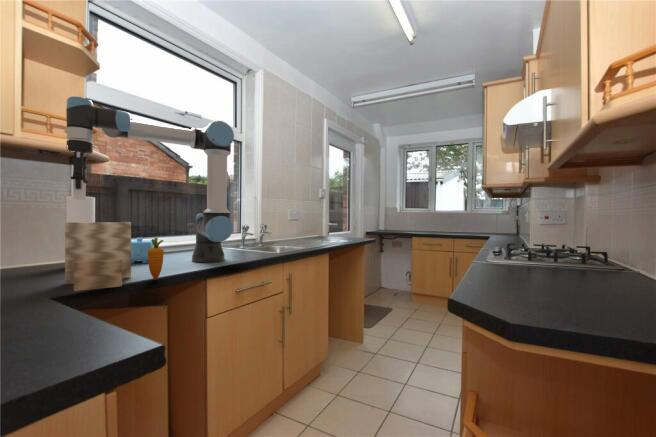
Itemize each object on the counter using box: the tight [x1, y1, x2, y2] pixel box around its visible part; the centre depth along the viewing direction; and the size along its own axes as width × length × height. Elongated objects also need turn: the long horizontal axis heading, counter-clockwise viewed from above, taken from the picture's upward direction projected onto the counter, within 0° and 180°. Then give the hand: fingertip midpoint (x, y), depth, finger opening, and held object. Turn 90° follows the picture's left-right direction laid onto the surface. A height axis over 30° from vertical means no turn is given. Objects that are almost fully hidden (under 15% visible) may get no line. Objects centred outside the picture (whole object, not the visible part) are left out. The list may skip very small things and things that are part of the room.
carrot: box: [147, 237, 165, 281], centre depth 109 cm, size 5×5×15 cm
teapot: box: [131, 237, 154, 265], centre depth 146 cm, size 16×18×11 cm
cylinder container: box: [66, 195, 96, 222], centre depth 132 cm, size 9×9×30 cm
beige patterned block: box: [64, 221, 132, 292], centre depth 102 cm, size 18×14×20 cm
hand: (79, 199), depth 115 cm, fingers open, 13 cm apart
